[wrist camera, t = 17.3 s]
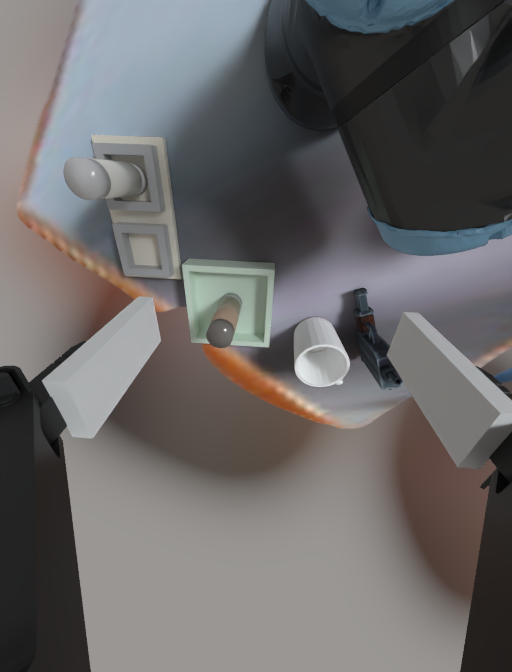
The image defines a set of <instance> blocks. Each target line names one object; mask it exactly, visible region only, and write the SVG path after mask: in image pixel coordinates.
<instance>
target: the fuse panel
mask: <svg viewBox="0 0 512 672" xmlns="http://www.w3.org/2000/svg"><path fill="white" fill-rule="evenodd" d="M91 136H92V140H93V142H92V146H93V150H94V154H95V158H96V159H103V160H112V161H121V162H128V163H134V164H137V165H139V166H140V167H141V168H142V169H143V170H144V171H145V173H146V175H147V179H148V187H147V189H146V191H145V192H144V193H142V194H137V195H132V196H123V197H115V198H107V199H106V203H107V207H108V210H110V214H111V218H112V222H113V224H112V227H113V231H114V235H115V239H116V244H117V248H118V252H119V256H120V260H121V264H122V268H123V272H124V275H125V276H130V277H148V278H165V279H182V270H181V261H180V253H179V245H178V237H177V229H176V220H175V212H174V204H173V196H172V188H171V180H170V171H169V163H168V155H167V147H166V139H165V138H163V137H137V136H109V135H91Z"/></svg>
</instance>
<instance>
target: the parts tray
mask: <svg viewBox="0 0 512 672" xmlns="http://www.w3.org/2000/svg"><path fill="white" fill-rule="evenodd" d="M182 270H183V279H184V287H185V295H186V304H187V312H188V320H189V328H190V337H191V342H193V343H208V344H210V343H209V342H208V340H207V338H206V333H207V330H208V328H209V325H210V323H211V320H212V318H213V316H214V314H215V312H216V309H217V307H218V305H219V303H220V301H221V299H222V297H223V296H224V295H225V294H227V293H235V294H237V295H238V296H239V297H240V298H241V300H242V306H241V311H240V315H239V319H238V322H237V326H236V330H235V334H234V336H233V340H232V342H231V344H230V345H239V346H254V347H269V341H270V328H271V315H272V302H273V289H274V276H275V263H265V262H246V261H227V260H209V259H190V258H189V259H187V260H186V261H185V262H184V263H183V264H182Z"/></svg>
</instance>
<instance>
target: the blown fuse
mask: <svg viewBox="0 0 512 672" xmlns="http://www.w3.org/2000/svg"><path fill="white" fill-rule="evenodd" d="M241 306H242V300H241V298H240V297H239V296H238V295H237V294H235V293H227V294H225V295H224V296H223V297H222V299H221V301H220V303H219V305H218V307H217V309H216V312H215V314H214V316H213V318H212V320H211V323H210V325H209V328H208V330H207V333H206V338H207V340H208V342H209V343H210V344H211V345H212V346H214V347H217V348H225V347H227V346H229V345H230V344H231V342H232V340H233V336H234V334H235V330H236V326H237V322H238V319H239V315H240V311H241Z"/></svg>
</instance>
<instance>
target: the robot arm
mask: <svg viewBox="0 0 512 672" xmlns="http://www.w3.org/2000/svg"><path fill="white" fill-rule="evenodd" d="M450 42H451V43H450ZM433 55H434V56H433ZM429 58H430V59H429ZM265 60H266V69H267V75H268V80H269V83H270V87H271V90H272V92H273V95H274V97H275V99H276V101H277V103H278V104H279V106H280V107H281V109H282V110H283V111H284V113H285V114H286V115H287V116H288V117H289V118H290V119H291V120H293V121H294V122H295V123H297V124H299V125H301V126H303V127H305V128H308V129H313V130H329V129H333V128H337V127H338V131H339V134H340V136H341V139H342V141H343V144H344V146H345V149H346V151H347V154H348V156H349V159H350V161H351V164H352V166H353V169H354V171H355V174H356V176H357V179H358V181H359V184H360V186H361V189H362V191H363V194H364V196H365V199H366V201H367V204H368V207H367V210H368V213H369V216H370V218H371V219H372V220H373V221H374V222H375V223H376V225H377V227H378V230H379V232H380V234H381V236H382V238H383V240H384V241H385V243H386V244H388V245H389V246H390V247H391V248H393V249H394V250H396V251H398V252H401V253H405V254H409V255H418V256H434V255H445V254H452V253H458V252H463V251H467V250H471V249H474V248H478V247H481V246H484V245H486V244H487V243H488V240H491V239H503V238H505V237H507V236H509V235H511V234H512V0H271V4H270V7H269V12H268V16H267V22H266V30H265ZM425 61H426V62H425ZM421 64H422V65H421ZM416 68H417V69H416ZM412 71H413V72H412ZM408 74H409V75H408ZM404 77H405V78H404ZM403 78H404V79H403ZM399 81H400V82H399ZM395 84H396V85H395ZM386 91H387V92H386ZM382 94H383V95H382ZM378 97H379V98H378ZM374 100H375V101H374ZM373 101H374V102H373ZM340 126H341V127H340ZM339 127H340V128H339ZM160 341H161V338H160V333H159V327H158V322H157V318H156V312H155V307H154V302H153V297H137V298H136V299H135V300H134V301H133V302H132V303H130V304H129V305H128V306H127V307H126V308H125V309H124V310H123V311H121V312H120V313H119V314H118V315H117V316H116V317H114V318H113V319H112V320H111V321H110V322H109V323H108V324H106V325H105V326H104V327H103V328H102V329H101V330H100V331H98V332H97V333H96V334H95V335H94V336H93V337H91V338H90V339H89V340H88V341H87V342H86V341H83V342H81V343H79V344H77V345H75V346H73V347H71V348H70V349H69V350H68V351H67V352H65V353H64V354H63V355H62V357H59V358H58V359H57V360H56V361H55V362H54V363H52V364H51V365H50V366H48V367H47V368H46V369H45V370H44V371H42V372H41V373H40V374H39V375H38V376H36V377H35V378H34V379H33V380H32V381H31V382H28V381H27V379H26V378H25V376H24V374H23V373H22V371H21V369H20V368H19V367H16V366H3V367H0V672H91V669H90V662H89V654H88V646H87V638H86V629H85V621H84V613H83V604H82V596H81V588H80V580H79V571H78V563H77V555H76V547H75V538H74V530H73V522H72V513H71V505H70V497H69V489H68V480H67V472H66V464H65V456H64V447H63V441H62V439H61V437H60V434H61V432H62V431H63V430H64V429H65V428H66V427H67V428H68V429H69V431H70V433H71V435H72V437H80V438H93V437H94V436H95V434H96V433H97V432H98V430H99V429H100V427H101V426H102V425H103V423H104V422H105V420H106V419H107V417H108V416H109V414H110V413H111V412H112V410H113V409H114V407H115V406H116V404H117V403H118V401H119V400H120V399H121V397H122V396H123V394H124V393H125V391H126V390H127V389H128V387H129V386H130V384H131V383H132V382H133V380H134V379H135V377H136V376H137V374H138V373H139V372H140V370H141V369H142V367H143V366H144V364H145V363H146V361H147V360H148V359H149V357H150V356H151V354H152V353H153V352H154V350H155V349H156V347H157V346H158V344H159V343H160ZM387 357H388V358H389V360H390V361H391V363H392V364H393V366H394V368H395V369H396V371H397V372H398V374H399V375H400V377H401V379H402V380H403V382H404V383H405V385H406V387H407V388H408V390H409V391H410V393H411V394H412V396H413V397H414V399H415V401H416V402H417V404H418V405H419V407H420V409H421V410H422V412H423V413H424V415H425V417H426V418H427V420H428V421H429V423H430V424H431V426H432V428H433V429H434V431H435V432H436V434H437V435H438V437H439V439H440V440H441V442H442V443H443V444H444V446H445V448H446V450H447V451H448V453H449V454H450V456H451V457H452V459H453V461H454V462H455V464H456V465H457V467H462V468H474V469H480V468H481V467H482V466H483V465H484V464H485V463H486V462H487V460H488V459H489V458H490V459H491V461H492V462H493V463H494V464H495V466H496V467H497V469H496V470H495V471H494V472H493V473H492V474H491V475H490V476H489V477H488V478H487V479H486V480H485V481H484V482H483V483H482V485H481V488H483V489H485V488H486V487H487V486H490V487H489V494H488V500H487V507H486V513H485V519H484V525H483V532H482V538H481V545H480V550H479V557H478V563H477V569H476V576H475V582H474V589H473V595H472V601H471V608H470V614H469V621H468V626H467V633H466V639H465V645H464V652H463V658H462V664H461V671H460V672H512V394H510V391H509V390H507V389H506V388H505V387H504V386H502V385H501V383H500V382H499V381H498V380H497V379H495V378H494V377H493V376H492V375H491V374H489V373H487V372H486V371H484V370H483V369H481V368H479V367H478V366H474V365H473V364H472V363H471V362H470V361H469V360H468V359H467V358H466V357H465V356H464V355H463V354H462V353H461V352H460V351H458V350H457V349H456V348H455V347H454V346H453V345H452V344H451V343H450V342H449V341H448V340H447V339H446V338H445V337H444V336H442V335H441V334H440V333H439V332H438V331H437V330H436V329H435V328H434V327H433V326H432V325H431V324H430V323H429V322H428V321H426V320H425V319H424V318H423V317H422V316H421V315H420V314H419V313H411V312H403V314H402V317H401V319H400V322H399V324H398V327H397V330H396V332H395V335H394V338H393V340H392V343H391V345H390V348H389V351H388V353H387Z"/></svg>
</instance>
